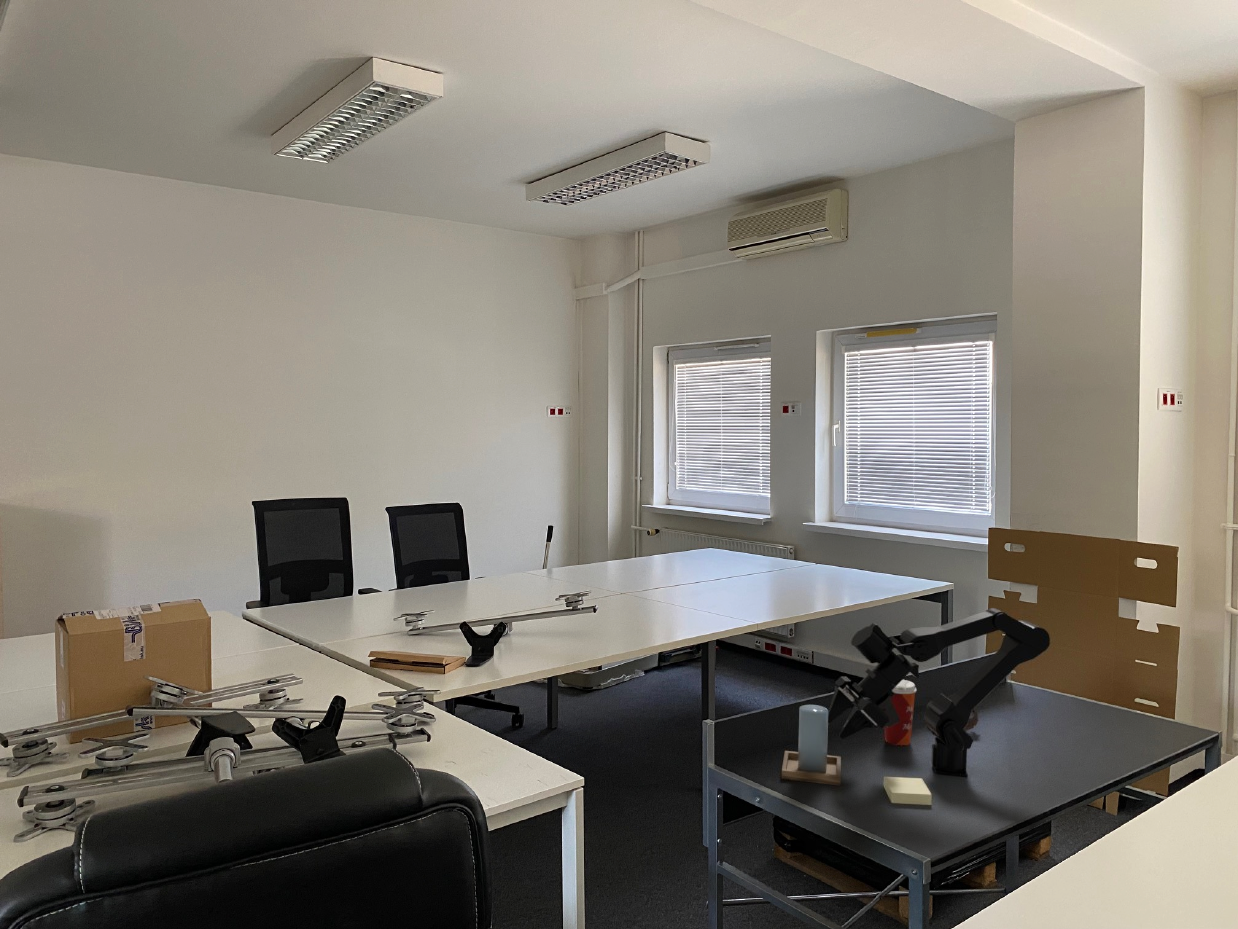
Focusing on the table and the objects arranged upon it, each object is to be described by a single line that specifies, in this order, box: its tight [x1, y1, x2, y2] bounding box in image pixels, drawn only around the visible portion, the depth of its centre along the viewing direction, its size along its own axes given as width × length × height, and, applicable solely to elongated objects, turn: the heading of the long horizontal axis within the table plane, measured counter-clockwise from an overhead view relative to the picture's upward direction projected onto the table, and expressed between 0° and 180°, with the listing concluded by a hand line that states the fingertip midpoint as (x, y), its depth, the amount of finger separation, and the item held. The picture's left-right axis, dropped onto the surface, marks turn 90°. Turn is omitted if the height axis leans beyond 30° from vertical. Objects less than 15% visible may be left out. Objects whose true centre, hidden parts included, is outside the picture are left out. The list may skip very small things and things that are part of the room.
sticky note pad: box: [883, 776, 932, 806], centre depth 173 cm, size 8×8×2 cm
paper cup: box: [884, 679, 917, 747], centre depth 202 cm, size 8×8×14 cm
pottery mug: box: [926, 700, 979, 732], centre depth 212 cm, size 12×10×8 cm
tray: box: [781, 750, 842, 786], centre depth 184 cm, size 12×11×2 cm
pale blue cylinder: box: [797, 704, 829, 774], centre depth 184 cm, size 6×6×13 cm
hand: (833, 729), depth 184 cm, fingers open, 9 cm apart
